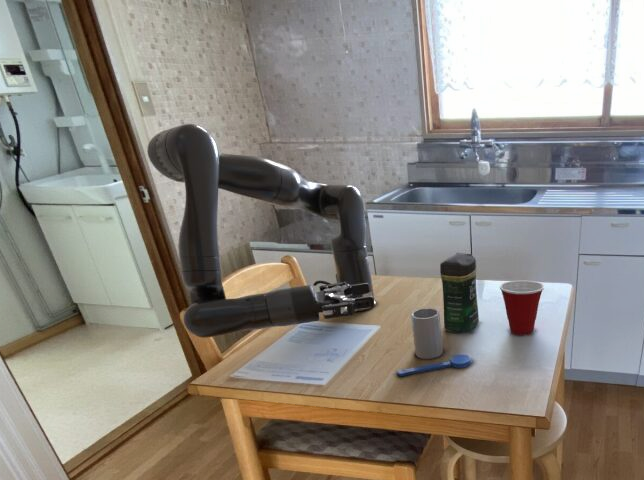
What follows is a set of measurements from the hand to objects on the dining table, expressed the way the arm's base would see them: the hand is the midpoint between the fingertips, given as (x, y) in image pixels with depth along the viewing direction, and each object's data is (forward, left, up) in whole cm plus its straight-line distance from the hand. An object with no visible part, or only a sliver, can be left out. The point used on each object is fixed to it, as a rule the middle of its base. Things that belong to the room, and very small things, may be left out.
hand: (371, 294), depth 111 cm
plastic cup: (+16, +32, -17) cm, 40 cm away
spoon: (+13, +5, -16) cm, 21 cm away
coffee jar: (+2, +25, -17) cm, 30 cm away
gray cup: (+6, +9, -16) cm, 20 cm away
